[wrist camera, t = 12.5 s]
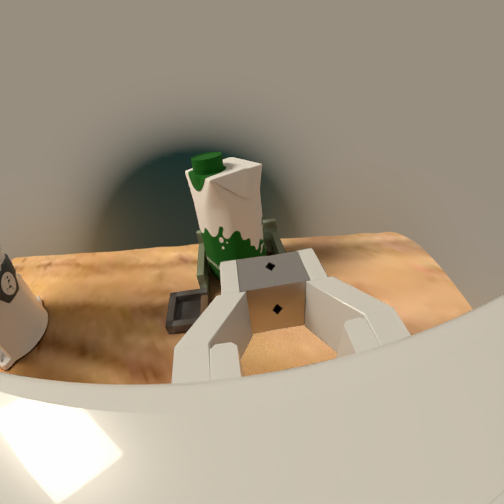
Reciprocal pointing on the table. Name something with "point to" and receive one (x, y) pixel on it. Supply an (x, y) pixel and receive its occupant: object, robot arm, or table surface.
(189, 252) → the table surface
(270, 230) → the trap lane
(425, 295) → the table surface
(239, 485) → the robot arm
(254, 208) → the soya milk
